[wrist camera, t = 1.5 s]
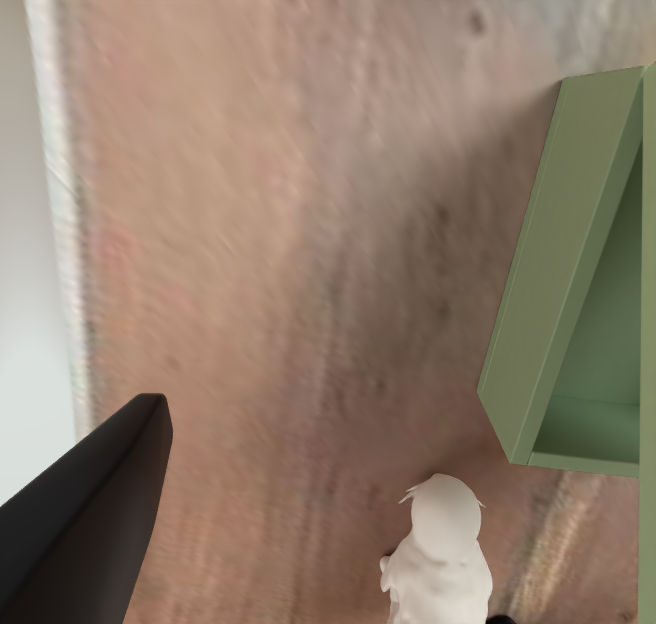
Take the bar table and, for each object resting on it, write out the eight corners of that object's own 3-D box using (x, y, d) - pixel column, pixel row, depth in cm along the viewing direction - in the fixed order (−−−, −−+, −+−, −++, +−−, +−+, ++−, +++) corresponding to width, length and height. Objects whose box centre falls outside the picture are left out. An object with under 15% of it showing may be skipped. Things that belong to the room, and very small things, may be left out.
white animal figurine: (383, 743, 24) (402, 558, 20) (373, 596, 32) (385, 445, 28) (506, 751, 24) (548, 566, 20) (465, 601, 32) (490, 451, 28)
